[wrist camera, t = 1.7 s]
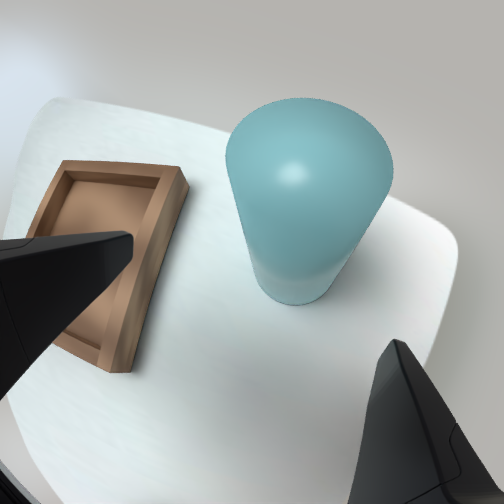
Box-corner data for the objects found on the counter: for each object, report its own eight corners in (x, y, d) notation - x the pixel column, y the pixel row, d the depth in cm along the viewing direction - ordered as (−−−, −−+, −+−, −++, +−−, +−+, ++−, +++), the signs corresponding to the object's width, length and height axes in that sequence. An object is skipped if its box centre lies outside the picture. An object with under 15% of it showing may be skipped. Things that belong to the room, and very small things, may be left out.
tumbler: (328, 312, 20) (393, 246, 8) (245, 295, 21) (202, 209, 9) (340, 235, 22) (389, 114, 10) (264, 220, 23) (248, 90, 11)
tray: (130, 372, 19) (109, 372, 16) (22, 316, 22) (2, 309, 19) (189, 186, 25) (179, 166, 22) (77, 175, 27) (63, 160, 24)
